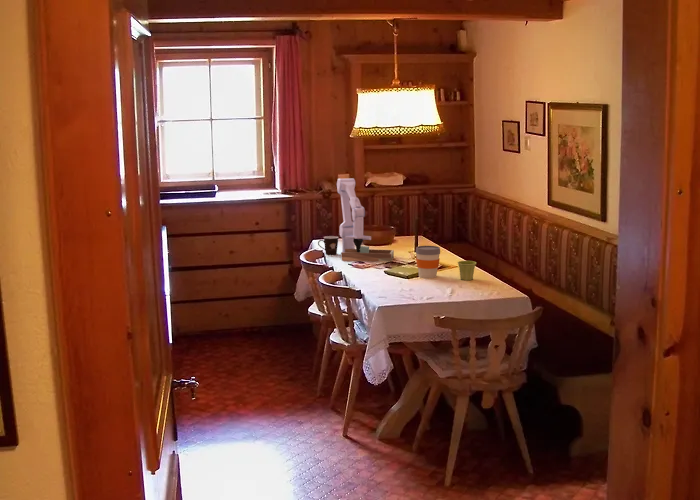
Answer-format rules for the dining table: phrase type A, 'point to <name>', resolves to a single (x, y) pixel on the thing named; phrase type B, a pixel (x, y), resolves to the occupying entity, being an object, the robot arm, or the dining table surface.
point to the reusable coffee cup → (427, 261)
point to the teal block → (364, 249)
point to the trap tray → (368, 255)
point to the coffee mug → (330, 245)
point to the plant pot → (466, 269)
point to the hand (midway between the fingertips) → (358, 252)
